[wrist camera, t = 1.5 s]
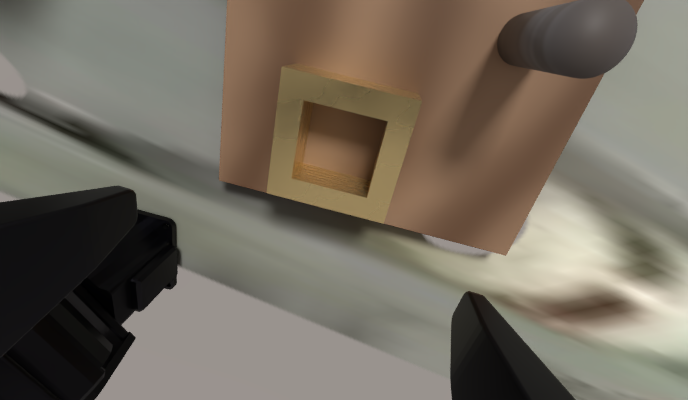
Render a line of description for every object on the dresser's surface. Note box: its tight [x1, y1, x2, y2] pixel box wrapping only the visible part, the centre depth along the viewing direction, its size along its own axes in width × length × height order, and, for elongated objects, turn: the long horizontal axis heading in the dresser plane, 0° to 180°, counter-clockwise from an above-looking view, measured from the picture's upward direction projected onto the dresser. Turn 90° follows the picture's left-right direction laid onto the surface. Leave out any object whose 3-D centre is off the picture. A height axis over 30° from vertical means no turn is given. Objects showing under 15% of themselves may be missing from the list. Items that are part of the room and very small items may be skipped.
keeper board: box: [219, 0, 644, 255], centre depth 15 cm, size 18×14×8 cm
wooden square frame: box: [267, 63, 422, 224], centre depth 17 cm, size 6×6×2 cm
